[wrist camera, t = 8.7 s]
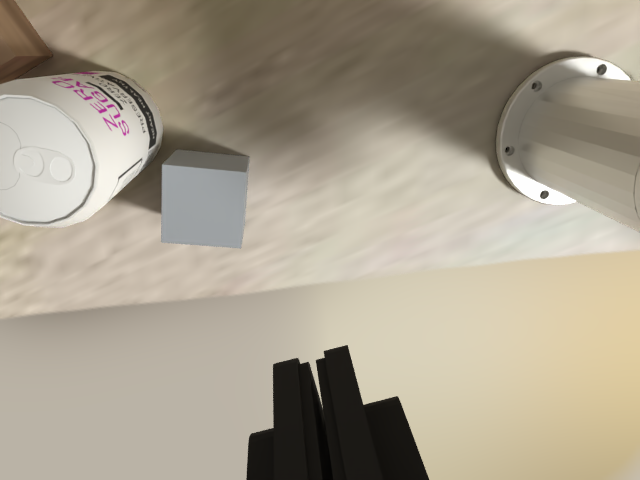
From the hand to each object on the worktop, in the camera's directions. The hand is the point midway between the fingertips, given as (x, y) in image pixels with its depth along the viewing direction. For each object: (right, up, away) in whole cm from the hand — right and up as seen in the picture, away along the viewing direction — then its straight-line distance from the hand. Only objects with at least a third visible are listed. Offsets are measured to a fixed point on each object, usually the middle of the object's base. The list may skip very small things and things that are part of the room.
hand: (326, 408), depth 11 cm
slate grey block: (-9, +8, +32) cm, 34 cm away
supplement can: (-17, +13, +29) cm, 36 cm away
